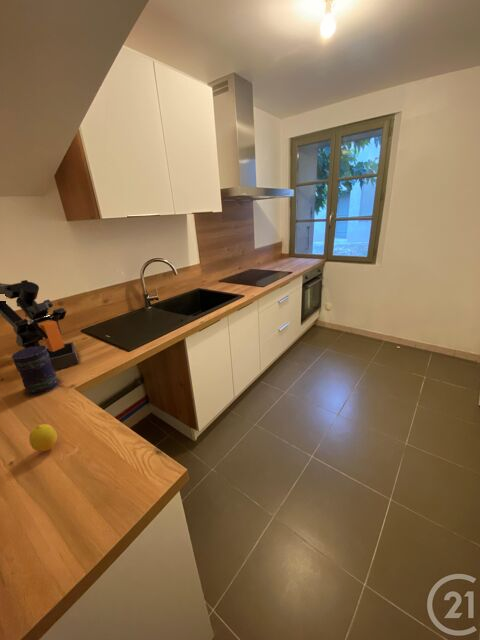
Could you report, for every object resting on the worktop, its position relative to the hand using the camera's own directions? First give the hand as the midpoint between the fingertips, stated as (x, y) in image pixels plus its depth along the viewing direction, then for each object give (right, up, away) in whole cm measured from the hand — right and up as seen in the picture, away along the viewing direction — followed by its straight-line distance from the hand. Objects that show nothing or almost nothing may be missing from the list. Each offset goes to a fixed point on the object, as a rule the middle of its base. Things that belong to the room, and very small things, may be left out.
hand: (53, 335), depth 109 cm
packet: (-1, -6, +3) cm, 7 cm away
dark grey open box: (-1, -12, +6) cm, 13 cm away
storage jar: (+4, -19, -12) cm, 23 cm away
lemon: (+27, -28, -39) cm, 55 cm away
